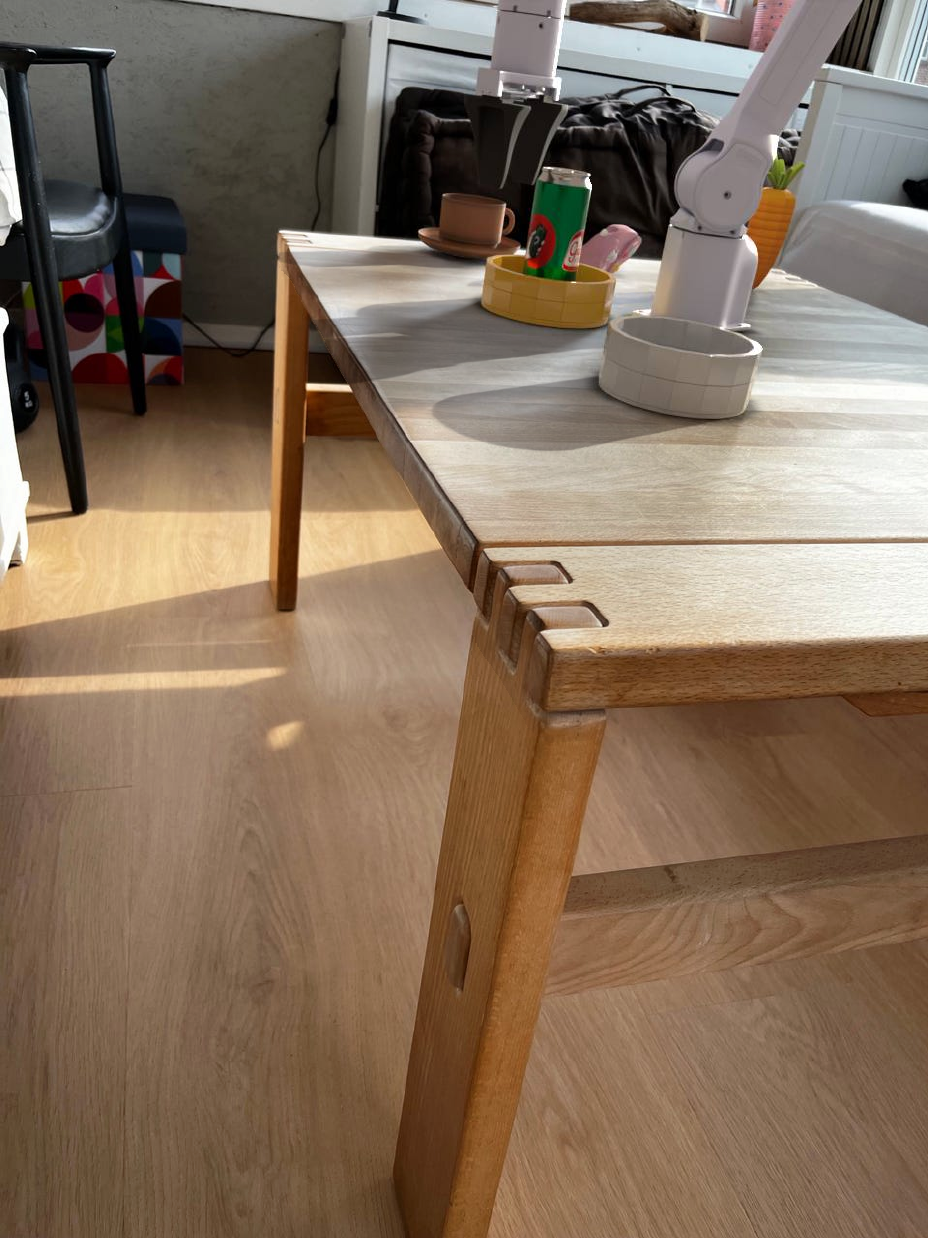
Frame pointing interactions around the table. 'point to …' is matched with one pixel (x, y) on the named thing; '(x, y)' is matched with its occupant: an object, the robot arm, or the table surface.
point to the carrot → (772, 217)
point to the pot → (678, 366)
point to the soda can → (557, 224)
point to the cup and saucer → (471, 228)
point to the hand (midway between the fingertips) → (507, 184)
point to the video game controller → (610, 248)
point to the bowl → (547, 295)
